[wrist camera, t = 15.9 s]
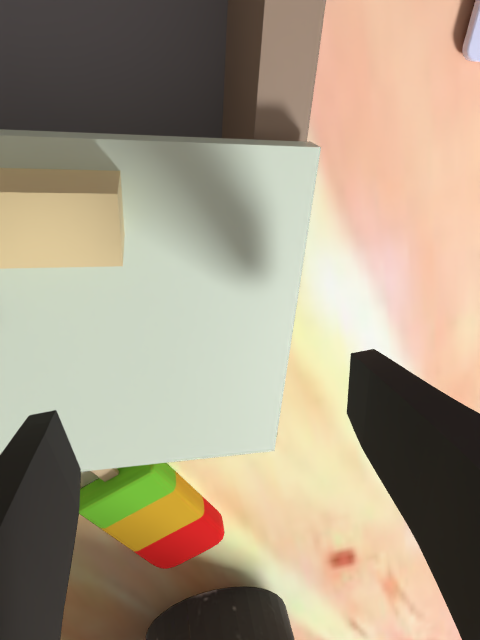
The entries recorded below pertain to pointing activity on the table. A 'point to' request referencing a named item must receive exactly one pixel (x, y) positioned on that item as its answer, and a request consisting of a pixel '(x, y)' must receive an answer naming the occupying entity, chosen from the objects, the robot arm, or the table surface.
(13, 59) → the board
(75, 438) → the lid
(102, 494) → the popsicle
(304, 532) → the table surface
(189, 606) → the lantern
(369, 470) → the table surface
